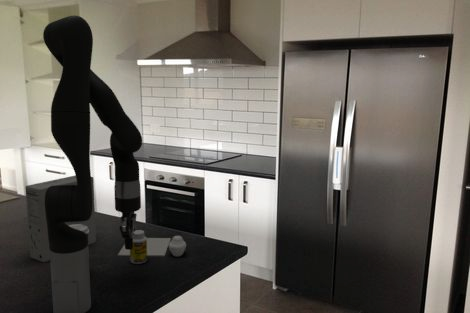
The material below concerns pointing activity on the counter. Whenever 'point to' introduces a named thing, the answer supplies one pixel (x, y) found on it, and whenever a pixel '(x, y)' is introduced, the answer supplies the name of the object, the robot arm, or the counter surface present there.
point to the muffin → (177, 246)
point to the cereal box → (38, 217)
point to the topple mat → (151, 247)
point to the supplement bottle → (139, 248)
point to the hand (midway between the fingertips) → (129, 248)
